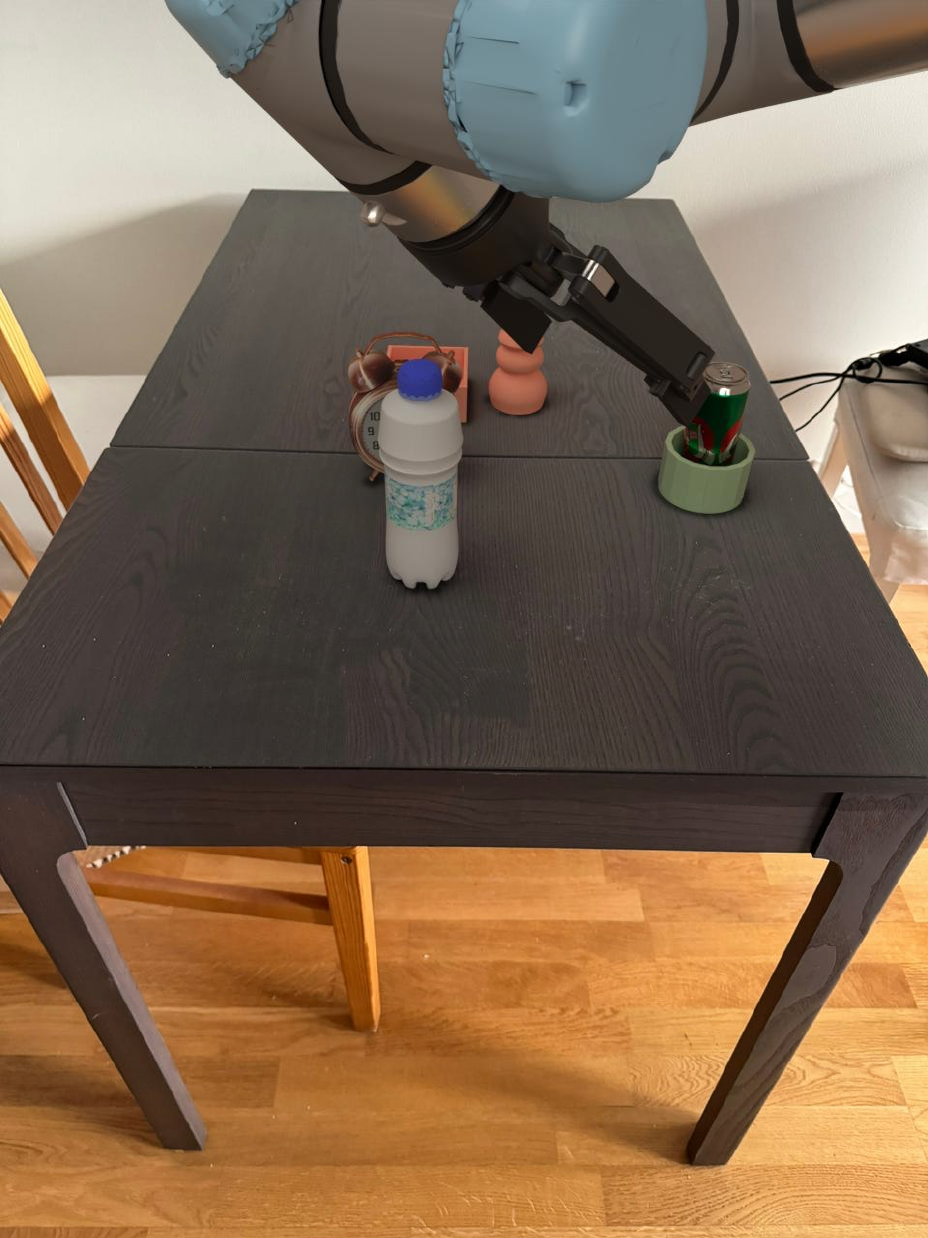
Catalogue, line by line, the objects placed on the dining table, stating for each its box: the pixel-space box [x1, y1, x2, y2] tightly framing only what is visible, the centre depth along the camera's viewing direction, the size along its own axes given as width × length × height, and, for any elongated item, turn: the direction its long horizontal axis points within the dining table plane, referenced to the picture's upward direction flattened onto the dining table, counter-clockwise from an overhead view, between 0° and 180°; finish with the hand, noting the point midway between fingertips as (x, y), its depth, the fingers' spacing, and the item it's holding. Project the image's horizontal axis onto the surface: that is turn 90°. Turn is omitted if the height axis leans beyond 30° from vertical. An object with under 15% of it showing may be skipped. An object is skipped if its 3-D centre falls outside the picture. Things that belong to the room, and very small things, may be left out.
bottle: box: [378, 359, 464, 590], centre depth 75 cm, size 7×7×20 cm
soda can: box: [680, 361, 752, 467], centre depth 88 cm, size 5×5×12 cm
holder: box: [657, 425, 756, 515], centre depth 91 cm, size 8×8×5 cm
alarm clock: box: [347, 331, 462, 482], centre depth 89 cm, size 11×5×15 cm, turn 94°
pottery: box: [386, 328, 548, 423], centre depth 101 cm, size 18×10×10 cm, turn 89°
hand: (612, 369), depth 62 cm, fingers open, 13 cm apart
